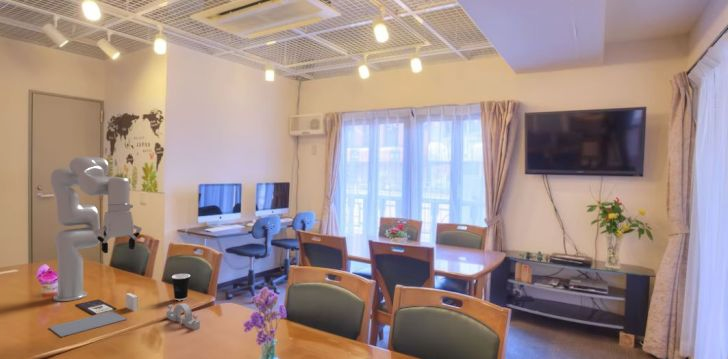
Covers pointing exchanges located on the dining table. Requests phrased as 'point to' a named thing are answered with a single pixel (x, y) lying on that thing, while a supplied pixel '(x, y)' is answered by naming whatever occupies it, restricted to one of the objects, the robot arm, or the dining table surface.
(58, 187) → the robot arm
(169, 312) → the grey arched bracket
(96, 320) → the mat
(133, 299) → the slab
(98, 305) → the chocolate bar
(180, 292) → the dixie cup
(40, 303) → the dining table surface
